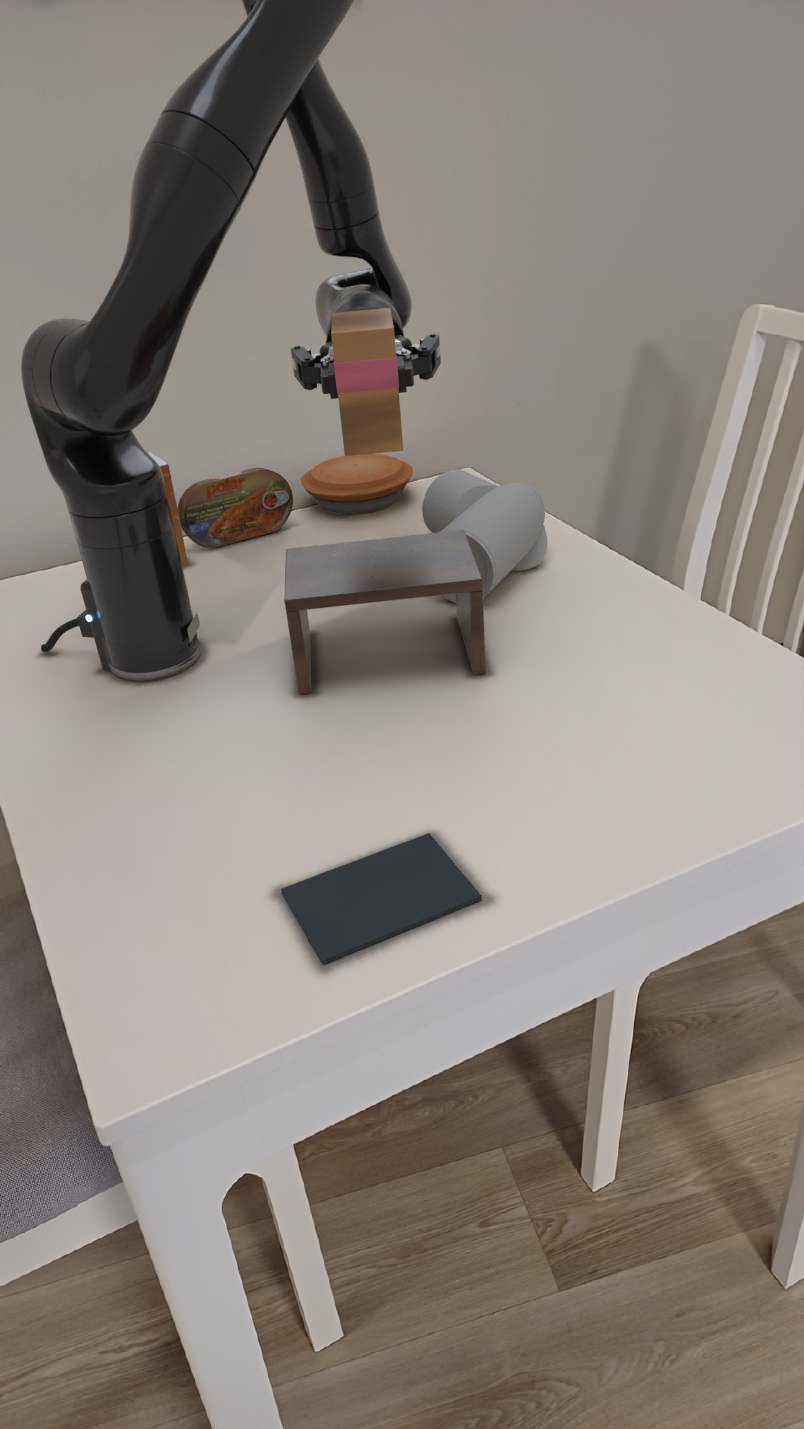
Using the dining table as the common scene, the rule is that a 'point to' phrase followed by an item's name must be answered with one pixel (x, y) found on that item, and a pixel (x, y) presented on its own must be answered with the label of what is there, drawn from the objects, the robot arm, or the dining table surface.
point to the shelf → (383, 585)
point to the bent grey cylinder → (489, 522)
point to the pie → (357, 483)
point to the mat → (378, 897)
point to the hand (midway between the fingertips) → (367, 383)
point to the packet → (367, 381)
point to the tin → (235, 507)
